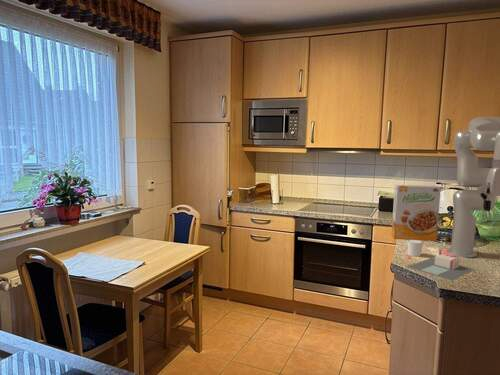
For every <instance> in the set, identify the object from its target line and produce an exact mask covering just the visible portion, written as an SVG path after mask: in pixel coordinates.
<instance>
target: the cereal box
mask: <svg viewBox="0 0 500 375" xmlns="http://www.w3.org/2000/svg"><path fill="white" fill-rule="evenodd" d="M441 188H442V187H441V186H438V185H417V184H416V185H415V184H414V185H411V184H410V185H409V184H394V190H393V191H394V194H393V195H394V196H393V205H392V206H393V209H392V225H391V237H392V238H393V240H405V241H406V240H407V241H408V240H419V241H423V242H424V241H426V242H427V241H428V242H429V241H430V242H437V238H438V228H439V226H438V225H439V216H440V215H439V213H440V202H441V201H440V200H441Z"/></svg>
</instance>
